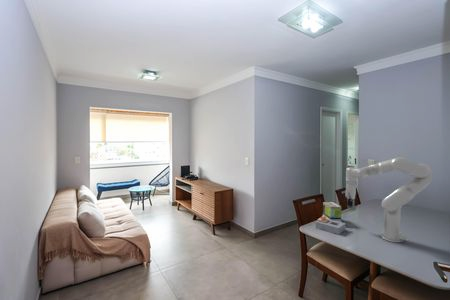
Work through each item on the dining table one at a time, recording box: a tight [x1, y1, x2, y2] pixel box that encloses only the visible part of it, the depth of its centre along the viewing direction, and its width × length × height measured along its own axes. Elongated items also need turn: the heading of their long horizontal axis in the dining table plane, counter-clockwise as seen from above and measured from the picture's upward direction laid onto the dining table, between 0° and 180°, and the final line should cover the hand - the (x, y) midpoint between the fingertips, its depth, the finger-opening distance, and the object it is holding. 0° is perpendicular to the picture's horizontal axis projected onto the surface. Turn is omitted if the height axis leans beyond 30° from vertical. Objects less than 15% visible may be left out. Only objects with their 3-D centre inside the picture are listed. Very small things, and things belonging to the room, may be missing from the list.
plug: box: [346, 195, 356, 210], centre depth 180 cm, size 5×5×9 cm
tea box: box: [322, 201, 342, 222], centre depth 199 cm, size 15×10×15 cm
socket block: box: [315, 220, 346, 235], centre depth 180 cm, size 18×14×5 cm
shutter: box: [316, 215, 330, 223], centre depth 184 cm, size 7×7×3 cm
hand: (350, 205), depth 180 cm, fingers closed on plug, 4 cm apart
